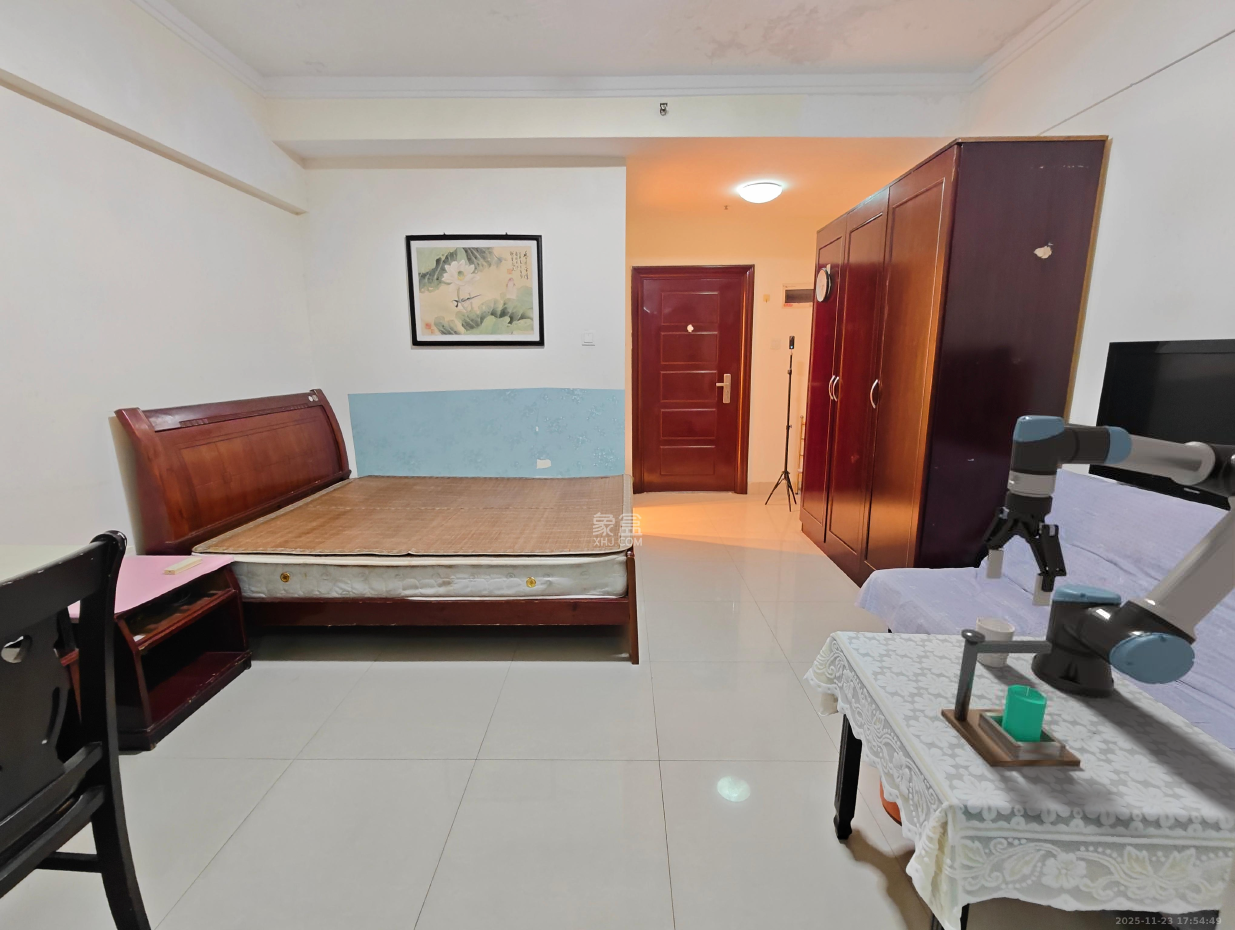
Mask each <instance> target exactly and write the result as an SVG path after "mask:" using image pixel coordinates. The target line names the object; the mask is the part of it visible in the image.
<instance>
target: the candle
mask: <svg viewBox="0 0 1235 930" xmlns="http://www.w3.org/2000/svg"><path fill="white" fill-rule="evenodd" d="M1047 702H1048V699H1047V698H1046V697H1045V696H1044V695H1043V694H1042V693H1041V692H1040V691H1039V690H1038V689H1036V688H1034V687H1033V688H1032V687H1030V686H1026V685H1020V684H1015V685H1010V686H1009V687H1008V688H1007V692H1006V697H1005V704H1004V714H1003V720H1002V726H1001V728H1002V729H1003V730H1004V731H1006V732H1007V733H1008V734H1009V735H1010V736H1011V737H1012V738H1013V739H1014V740H1015V741H1016V742H1039V740H1040V734H1041V729H1042V726H1043V724H1044V718H1045V712H1046V707H1047Z"/></svg>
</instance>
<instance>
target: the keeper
mask: <svg viewBox="0 0 1235 930" xmlns="http://www.w3.org/2000/svg"><path fill="white" fill-rule="evenodd" d="M960 633H961V635H960V636H961V638H963V639H964V645H963V652H962V658H961V665H960V671H959V675H958V676H959V677H958V685H957V690H956V697H955V704H954V708H953V709H954V717H955V718H956V719H958V720H961V721H966V720H967V717H968V711H969V708H970V705H971V698H972V697H971V696H972V692H973V684H974V679H975V673H976V666H977V655H978V653H1009V654H1037V653H1051V648H1052V644H1051V643H1049V642H1048V641H1045V640H1012V641H1006V640H985V635H984V634H982V633H980V632H978V631H976V629H975V630H974V629H970V628H969V629H967V628H966V629H962V630H961V632H960Z"/></svg>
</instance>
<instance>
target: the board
mask: <svg viewBox="0 0 1235 930" xmlns="http://www.w3.org/2000/svg"><path fill="white" fill-rule="evenodd" d="M954 709H955V708H950V709H949V708H948V709H947V708H941V712H940V716H942V717H943V718H944V719H945V720H946V722H948V723H949V724H950V725H951V726H952V727H953V728H954V730H956V731H957V732H958V733H959V734H960V736H961V737H962V738H963V739H964V740H965V741H966V743H968V744H969V745H970V746H971V748H973V750H975V752H976V753H978V754H979V756H980V757H981V758H982V759H983V760H984V761H985V762H986V763H987V764H988V765H989V766H990V767H1080V766H1081V761H1082V760H1081V759H1080V758H1079V757H1077V756H1076V755H1075V754H1074V753H1073V752H1071V751H1070V750H1069V749H1068V748H1067V745H1066V744H1065V743H1064V742H1062V741H1061V740H1060V739H1059V738H1057V737H1056V736H1055V735H1054V734H1053V733H1052V732H1051V731H1050V730H1048V729H1046V727H1044V726H1043V725H1042V729H1041V734H1040V740H1039V742H1016V741H1015V740H1014V739H1013V738H1012V737H1011V736H1010V735H1009V734H1008V733H1007V732H1006V731H1004V730H1003V729H1002V728H1001V726H1002V720H1003V714H1004V709H1005V708H1004V709H1003V708H999V709H996V708H991V709H990V708H988V709H987V708H976V709H975V708H970V709H969V711H968V717H967V720H966V721H961V720H958V719H956V718H955V717H954Z"/></svg>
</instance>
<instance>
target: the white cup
mask: <svg viewBox="0 0 1235 930" xmlns="http://www.w3.org/2000/svg"><path fill="white" fill-rule="evenodd" d="M975 631H978V632H980V633H982V634H984V635H985V640H1006V641H1014V637H1015V631H1016V628H1015V626H1013V625H1012V624H1011V623H1009V622H1008V621H1005V620H1002V619H999V618H995V617H994V618H993V617H990V616H989V617H988V616H985V617H984V616H982V617H978V618H976V625H975ZM1009 656H1010V653H978V655H977V661H978V662H979V663H981V664H982V665H985V666H986V667H987V666H988V667H991V668H995V669H996V668H998V669H999V668H1001V669H1002V668H1004V667H1006V666H1007V662H1008V657H1009ZM977 661H976V662H977Z"/></svg>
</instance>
